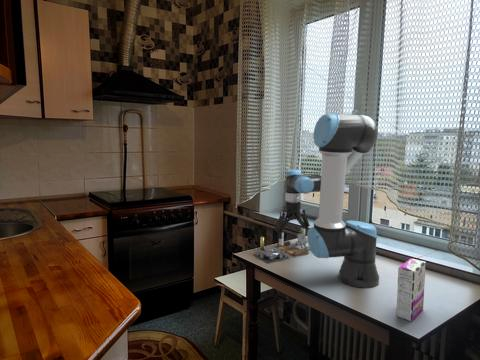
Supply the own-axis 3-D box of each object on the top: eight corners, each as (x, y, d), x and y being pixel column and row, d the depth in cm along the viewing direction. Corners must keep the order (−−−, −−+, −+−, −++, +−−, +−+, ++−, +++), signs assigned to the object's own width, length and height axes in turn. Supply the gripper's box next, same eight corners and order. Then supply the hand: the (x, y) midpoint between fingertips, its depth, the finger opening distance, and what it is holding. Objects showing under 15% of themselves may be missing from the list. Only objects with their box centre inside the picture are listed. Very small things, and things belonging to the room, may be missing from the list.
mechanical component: (292, 257, 162) (310, 250, 163) (285, 238, 161) (303, 231, 162) (291, 256, 165) (309, 248, 166) (283, 237, 164) (302, 229, 165)
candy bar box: (407, 304, 111) (410, 257, 109) (423, 309, 108) (427, 261, 106) (394, 316, 103) (397, 266, 101) (411, 322, 100) (415, 271, 98)
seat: (308, 254, 160) (308, 249, 159) (295, 257, 156) (295, 252, 156) (288, 245, 173) (289, 241, 173) (276, 247, 169) (276, 243, 169)
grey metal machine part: (269, 261, 147) (270, 244, 146) (252, 253, 157) (252, 237, 156) (290, 255, 154) (290, 239, 153) (272, 248, 165) (272, 233, 164)
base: (289, 258, 154) (289, 256, 154) (267, 263, 148) (267, 261, 148) (274, 251, 164) (274, 249, 164) (253, 255, 158) (253, 253, 158)
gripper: (276, 204, 152) (276, 248, 155) (317, 200, 164) (316, 241, 167) (267, 202, 159) (267, 244, 161) (307, 197, 171) (306, 237, 173)
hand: (292, 242), depth 164 cm, fingers open, 13 cm apart
